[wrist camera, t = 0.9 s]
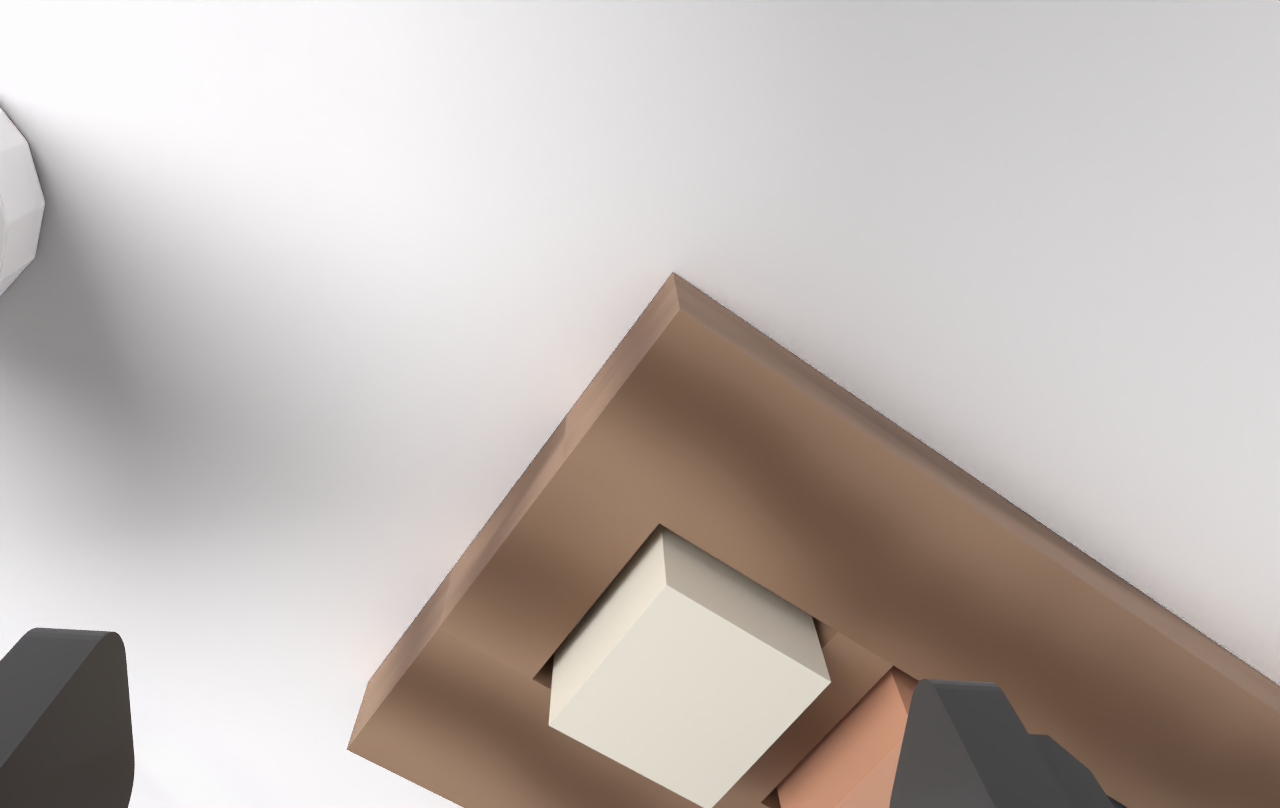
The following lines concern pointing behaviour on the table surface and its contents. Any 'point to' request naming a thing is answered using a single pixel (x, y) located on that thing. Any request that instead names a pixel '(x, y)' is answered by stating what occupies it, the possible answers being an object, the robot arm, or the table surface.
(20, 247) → the white cup
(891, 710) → the terracotta pad
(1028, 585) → the button board
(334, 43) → the table surface
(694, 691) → the cream pad
